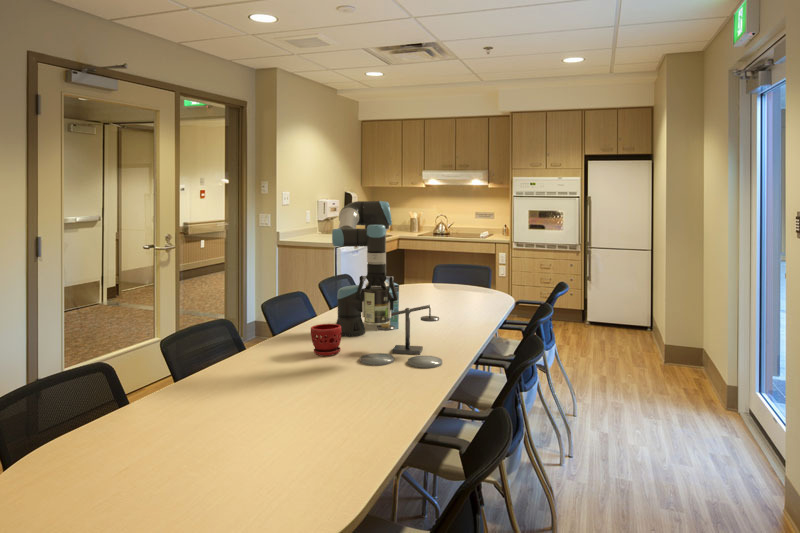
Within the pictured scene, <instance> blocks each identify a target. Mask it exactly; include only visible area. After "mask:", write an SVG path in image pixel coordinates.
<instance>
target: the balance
mask: <svg viewBox="0 0 800 533" xmlns="http://www.w3.org/2000/svg"><path fill="white" fill-rule="evenodd" d="M431 308H432V306H431V304H428V305H421V306H417V307H413V308H410V307H405V309H402V310H399V311H398V312H393V313H391V316H394V315H403V314H405V318H404V320H405V321H404V322H405V323H404V325H405V327H404V328H405V329H404V330H405V332H404V334H405V336H404V337H405V338H404V340H405V341H404V344H405V345H403V344H402V345H399V344H396V345H394V346H393V348H392V350H391V351H392V354H400V355H415V354H418V355H417V356H421V354H420V353H422V352H423V348H424V347H423V346H422V345H411V312H417V311H421V310H426V309H427V310H429V312H428V315H424V316H423V315H422V316H421V317H420V321H422V322H426V323H427V322H429V323H431V322H432V323H433V322H438V321H440V317H439V316H435V315H431V313H432V310H431ZM376 330H377V331H384V332H387V331H388V332H389V331H394V330H396V329H395V326H393V325H390V320H389V323H388V324H384V325H376Z"/></svg>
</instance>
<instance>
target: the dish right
mask: <svg viewBox="0 0 800 533" xmlns="http://www.w3.org/2000/svg"><path fill="white" fill-rule="evenodd" d="M407 365H408V366H410V367H412V366H413V368H416V367H417V368H418V369H435V368H438V367H441V366H442V365H443V359H442V358H441V357H438V356H435V355H434V356H433V355H416V356H411V357H409V358H408V359H407ZM417 368H416V369H417Z"/></svg>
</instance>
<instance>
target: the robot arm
mask: <svg viewBox="0 0 800 533" xmlns="http://www.w3.org/2000/svg"><path fill="white" fill-rule="evenodd" d="M338 221H339V225H338V228H333V229H332V231H331V242H332V246H334V247H340V248H342V247H343V248H344V247H349V248H350V247H366V248H367V250H366V261H367V264H366V266H367V267H366V270H367V272H366V275H361V276H359V284H356V285H355V284H353V285H346V286H342V287H341V288H339V289H338V290H337V297H336V300H337V319H336V321H335V324H338V325H340V326H341V337H358V336H363V335H364V334H365V333H366V328H365V325H364V324H365V323H364V322H363V319H362V318H365V316H364V288H363V287H364V285H365V288H366V289H370V288H371V287H382V288H383V290H385V289H388V288H389V284H388V283H387V282H386V279H387V280H388V282H389V283H390V287H391V288H389V292H388V299H389V302H388V318H391V310H393V309H394V301H397V300H398V296H397V292H396V289H395V286H394V283H395V281H394V278H395V277H394V276H387V232H388V231H389V230H390V226H392V225H393V221H392V213H391V207H390V203H389V202H388V201H383V200H377V201H376V200H373V201H372V200H368V201H367V200H364V201H363V200H362V201H361V200H357V201H353V202H350V203H348V204H346V205H344V207H342V208H341V210H340V211H339V213H338ZM357 226H364V228H357ZM366 281H367V282H366ZM365 282H366V284H364V283H365ZM392 294H393V297H394V298H393V297H392Z"/></svg>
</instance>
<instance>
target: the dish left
mask: <svg viewBox="0 0 800 533" xmlns="http://www.w3.org/2000/svg"><path fill="white" fill-rule="evenodd" d="M359 362H360V363H361V364H363V365H366V366H373V365H375V366H378V367H379V366H386V365H390V364H393V363H394V362H395V356H394V355H392V354H388V353H381V352H376V353H375V352H372V353H367V354H363V355H361V356H360V357H359Z"/></svg>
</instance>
